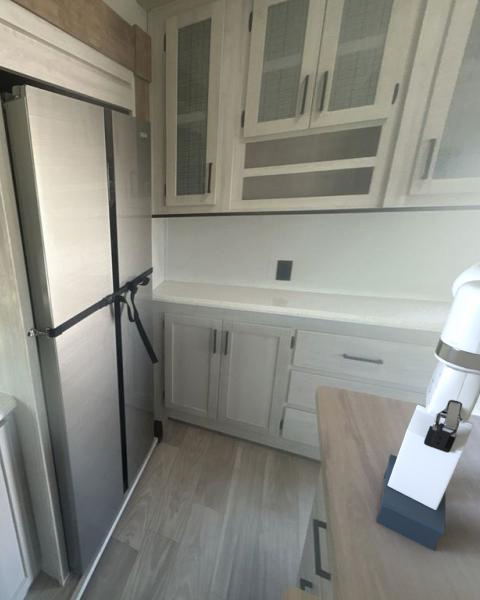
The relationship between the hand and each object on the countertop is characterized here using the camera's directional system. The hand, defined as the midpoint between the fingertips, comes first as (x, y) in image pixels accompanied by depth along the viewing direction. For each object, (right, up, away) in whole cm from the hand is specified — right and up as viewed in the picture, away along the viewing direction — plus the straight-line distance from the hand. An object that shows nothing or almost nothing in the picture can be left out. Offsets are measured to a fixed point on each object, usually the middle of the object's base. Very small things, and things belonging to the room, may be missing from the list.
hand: (436, 433), depth 62 cm
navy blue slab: (+2, -19, +8) cm, 20 cm away
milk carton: (+1, -13, +6) cm, 14 cm away
